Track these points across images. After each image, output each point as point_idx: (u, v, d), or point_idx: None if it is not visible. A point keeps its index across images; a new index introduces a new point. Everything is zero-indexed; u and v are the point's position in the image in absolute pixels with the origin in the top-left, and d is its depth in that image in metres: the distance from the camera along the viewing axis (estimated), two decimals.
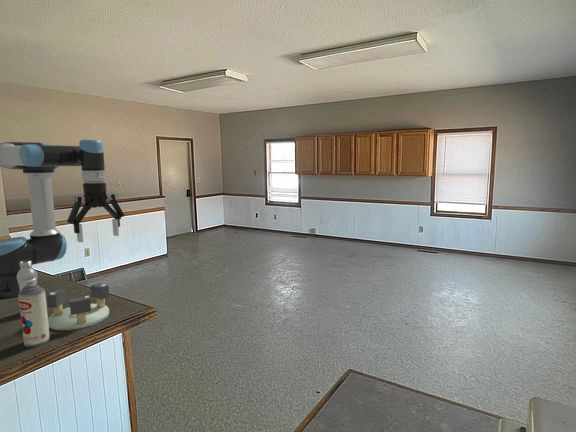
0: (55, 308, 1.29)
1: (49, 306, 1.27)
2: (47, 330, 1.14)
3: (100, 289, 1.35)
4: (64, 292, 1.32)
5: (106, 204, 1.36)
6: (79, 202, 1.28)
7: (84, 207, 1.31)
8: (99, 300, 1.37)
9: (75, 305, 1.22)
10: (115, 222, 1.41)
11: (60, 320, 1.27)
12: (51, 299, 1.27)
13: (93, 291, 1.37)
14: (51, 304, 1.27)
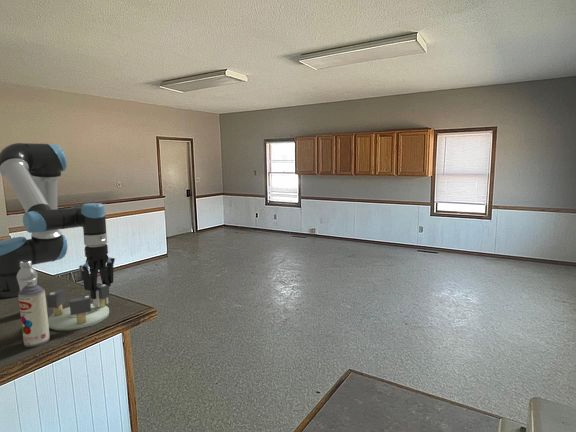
0: (55, 308, 1.29)
1: (49, 306, 1.27)
2: (47, 330, 1.14)
3: (100, 289, 1.35)
4: (64, 292, 1.32)
5: (105, 267, 1.37)
6: (86, 271, 1.31)
7: (91, 272, 1.34)
8: (99, 300, 1.37)
9: (75, 305, 1.22)
10: None
11: (60, 320, 1.27)
12: (51, 299, 1.27)
13: None
14: (51, 304, 1.27)
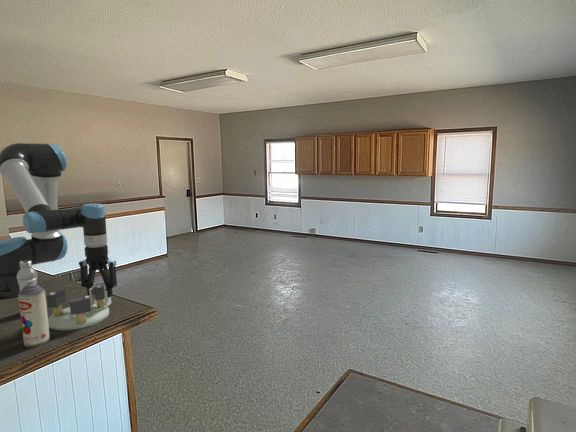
0: (55, 308, 1.29)
1: (49, 306, 1.27)
2: (47, 330, 1.14)
3: None
4: (64, 292, 1.32)
5: (100, 269, 1.34)
6: (81, 266, 1.35)
7: None
8: (97, 300, 1.37)
9: (75, 305, 1.22)
10: None
11: (60, 320, 1.27)
12: (51, 299, 1.27)
13: None
14: (51, 304, 1.27)
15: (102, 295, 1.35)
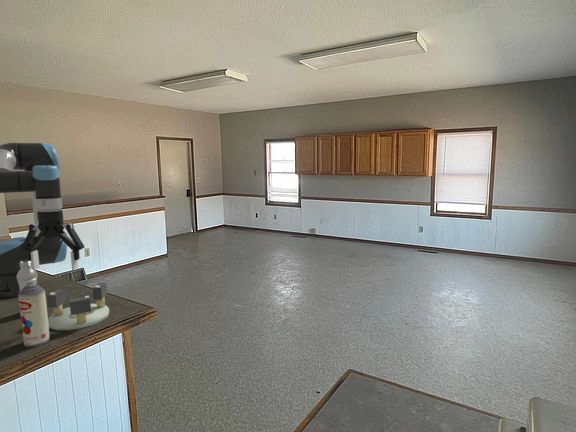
0: (55, 308, 1.29)
1: (49, 306, 1.27)
2: (47, 330, 1.14)
3: None
4: (64, 292, 1.32)
5: (58, 234, 1.25)
6: (30, 230, 1.25)
7: None
8: (96, 300, 1.37)
9: (75, 305, 1.22)
10: None
11: (60, 320, 1.27)
12: (51, 299, 1.27)
13: None
14: (51, 304, 1.27)
15: (100, 295, 1.35)
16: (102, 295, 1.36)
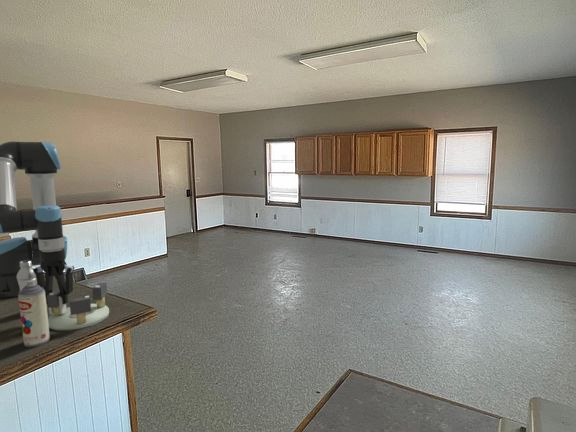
0: (55, 308, 1.29)
1: (49, 306, 1.27)
2: (47, 330, 1.14)
3: None
4: None
5: (56, 275, 1.27)
6: (36, 273, 1.27)
7: None
8: (96, 300, 1.37)
9: (75, 305, 1.22)
10: None
11: (60, 320, 1.27)
12: (51, 299, 1.27)
13: None
14: (51, 304, 1.27)
15: (99, 296, 1.35)
16: (102, 295, 1.36)
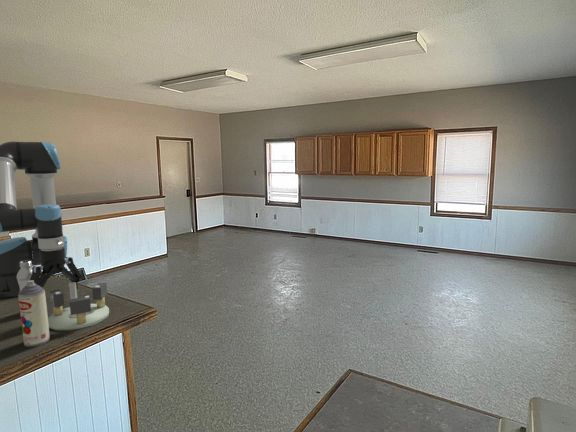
0: (58, 308, 1.30)
1: (56, 306, 1.28)
2: (47, 330, 1.14)
3: None
4: None
5: (65, 269, 1.31)
6: (38, 272, 1.22)
7: (42, 276, 1.25)
8: (96, 300, 1.37)
9: (75, 305, 1.22)
10: (73, 285, 1.36)
11: (60, 320, 1.27)
12: (58, 298, 1.28)
13: None
14: (58, 303, 1.28)
15: (99, 296, 1.35)
16: (102, 295, 1.36)
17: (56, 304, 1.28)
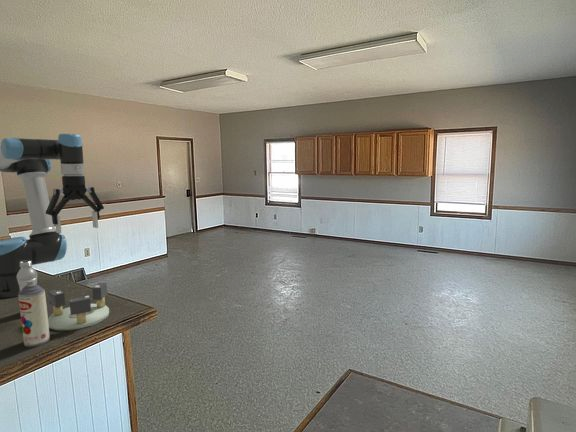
0: (59, 307, 1.30)
1: (57, 306, 1.28)
2: (47, 330, 1.14)
3: None
4: None
5: (85, 197, 1.40)
6: (57, 194, 1.32)
7: (63, 199, 1.35)
8: (96, 300, 1.37)
9: (75, 305, 1.22)
10: (94, 214, 1.45)
11: (60, 320, 1.27)
12: (59, 297, 1.28)
13: None
14: (59, 303, 1.28)
15: (99, 296, 1.35)
16: (102, 295, 1.36)
17: (57, 304, 1.28)
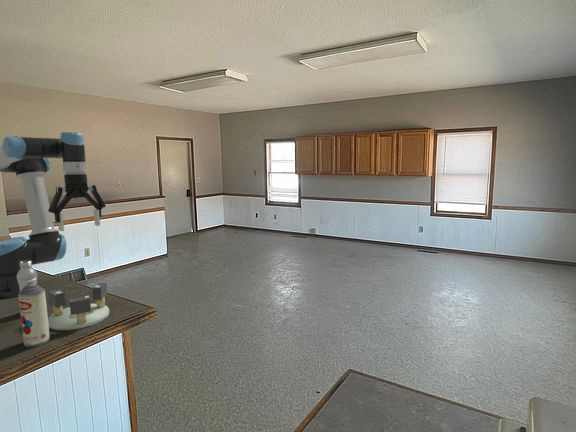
0: (59, 307, 1.30)
1: (57, 305, 1.28)
2: (47, 330, 1.14)
3: None
4: None
5: (87, 195, 1.41)
6: (60, 192, 1.33)
7: (65, 197, 1.36)
8: (96, 300, 1.37)
9: (75, 305, 1.22)
10: (96, 212, 1.46)
11: (60, 320, 1.27)
12: (59, 297, 1.28)
13: None
14: (60, 303, 1.28)
15: (99, 296, 1.35)
16: (102, 295, 1.36)
17: (58, 304, 1.28)
